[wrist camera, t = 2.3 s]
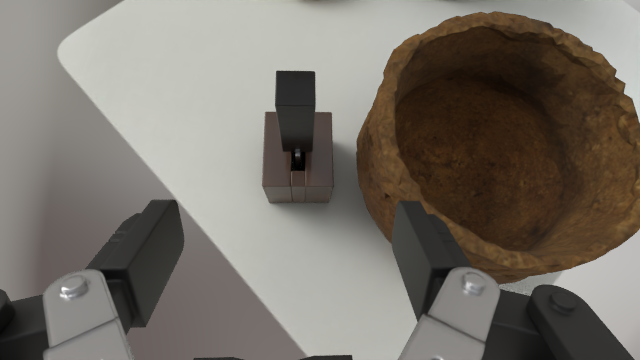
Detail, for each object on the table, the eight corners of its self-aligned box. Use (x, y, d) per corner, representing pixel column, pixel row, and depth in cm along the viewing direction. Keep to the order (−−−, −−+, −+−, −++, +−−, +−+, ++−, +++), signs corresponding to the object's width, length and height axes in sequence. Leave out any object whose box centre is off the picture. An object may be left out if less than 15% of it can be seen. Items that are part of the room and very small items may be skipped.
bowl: (423, 77, 39) (491, -41, 25) (558, 190, 36) (724, 129, 22) (306, 185, 35) (307, 118, 21) (447, 326, 32) (564, 361, 17)
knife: (287, 183, 35) (274, 109, 20) (287, 156, 36) (276, 66, 21) (310, 183, 35) (315, 110, 20) (310, 156, 36) (315, 66, 21)
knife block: (269, 202, 34) (262, 186, 29) (271, 138, 36) (264, 111, 31) (328, 202, 35) (333, 186, 29) (327, 139, 37) (331, 112, 31)
